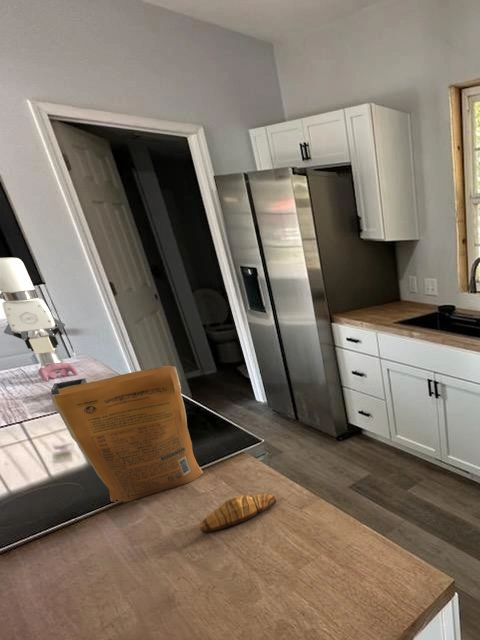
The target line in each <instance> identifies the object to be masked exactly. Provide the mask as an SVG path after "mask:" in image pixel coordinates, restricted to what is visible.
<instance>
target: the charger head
mask: <svg viewBox="0 0 480 640" xmlns="http://www.w3.org/2000/svg"><path fill="white" fill-rule="evenodd" d="M29 342H30V344H31V346H32V348H33V350H34V351H33V352H34V354H35V355H38V354H39V353H46V352H53V351H54V350H55V348H53V346H52V344H51V341H50V339H49V335H41V334H40V333H37V334H36V336H33V337H31V338H30V339H29Z"/></svg>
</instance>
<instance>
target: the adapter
mask: <svg viewBox="0 0 480 640" xmlns="http://www.w3.org/2000/svg"><path fill="white" fill-rule="evenodd" d="M84 383H88V381H87V379H86V378H79V379H71V380H67V381H61V382H54V383H53V385H52V387H51V388H50V389H51V390H50V393H51V395H58V394H60V393H59V391H58V389H60V388H64V387H68V386H73V385H79V384H84Z"/></svg>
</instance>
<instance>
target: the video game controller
mask: <svg viewBox="0 0 480 640" xmlns="http://www.w3.org/2000/svg"><path fill="white" fill-rule="evenodd" d="M56 370H61V371H60V372H59V375H60V376H62V377H67V376H69V372H70V373H71V374H73V375H74V376H77V375H78V374H79V373H78V370H77V369H76V368H75V366H74V365H73V364H72V363H69V362H67V361H63V362H57V363H51V364H48V365H45V366H42V367H41V366H40V368H39V369H38V375H39V376H40V377H41V379H42V380H43V381H44V382H49V379H56V378H57V377H58V372H57V373H55V372H53V371H56Z"/></svg>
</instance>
